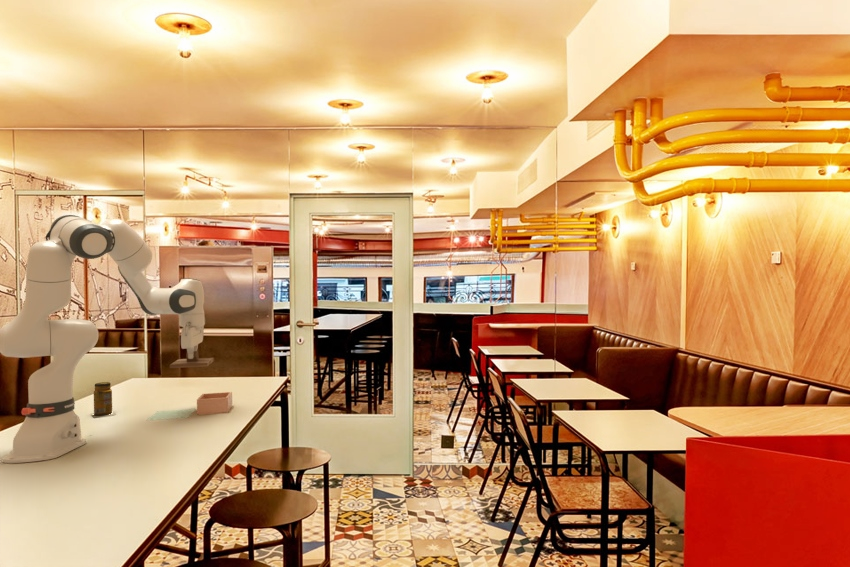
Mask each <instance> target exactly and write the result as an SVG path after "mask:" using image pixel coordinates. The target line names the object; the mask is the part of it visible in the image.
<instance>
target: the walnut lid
mask: <svg viewBox="0 0 850 567" xmlns="http://www.w3.org/2000/svg"><path fill="white" fill-rule="evenodd" d="M193 353H194V358H193V359H189V358H188V352H187V351H186V354H185V355H186V358H179V359H177V360H175V361H174V362H172V363H170V364H169V369H179V368H181V369H182V368H198V367H201V368H202V367H204V368H205V367H209V366H210V365H211V364H212V363H213V362H215V357H201V358H200V357H199V351H198V350H197V351H193Z"/></svg>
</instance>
